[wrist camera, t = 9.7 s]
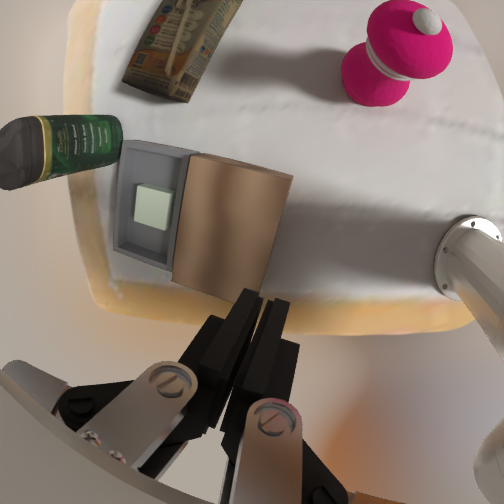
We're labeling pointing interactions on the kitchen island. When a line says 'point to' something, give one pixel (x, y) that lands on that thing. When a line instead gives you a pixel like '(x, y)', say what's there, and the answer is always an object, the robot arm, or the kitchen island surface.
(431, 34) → the pepper mill
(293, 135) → the kitchen island surface
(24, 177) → the coffee jar
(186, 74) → the beverage carton
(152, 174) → the tray
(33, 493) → the robot arm
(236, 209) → the board
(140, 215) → the tile
